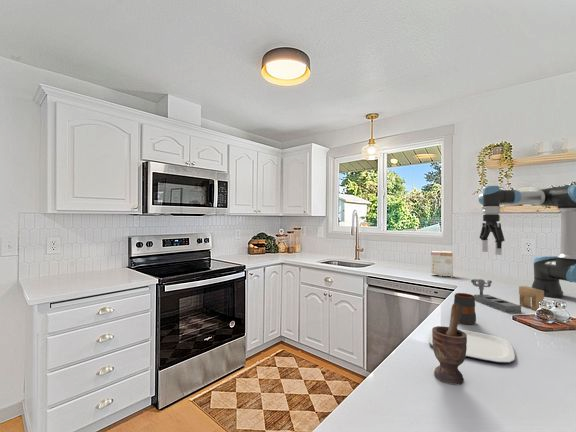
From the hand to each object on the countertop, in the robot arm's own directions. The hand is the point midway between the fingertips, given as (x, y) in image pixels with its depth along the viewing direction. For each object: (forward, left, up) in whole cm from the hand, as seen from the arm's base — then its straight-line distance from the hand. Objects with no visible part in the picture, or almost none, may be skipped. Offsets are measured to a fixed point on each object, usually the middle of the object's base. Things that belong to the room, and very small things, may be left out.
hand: (491, 253), depth 162 cm
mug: (+35, +27, -27) cm, 52 cm away
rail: (+3, +6, -27) cm, 28 cm away
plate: (+51, +52, -27) cm, 78 cm away
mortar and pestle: (+71, +71, -27) cm, 104 cm away
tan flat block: (-12, +11, -27) cm, 32 cm away
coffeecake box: (-18, -75, -27) cm, 82 cm away
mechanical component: (-2, -11, -27) cm, 29 cm away
